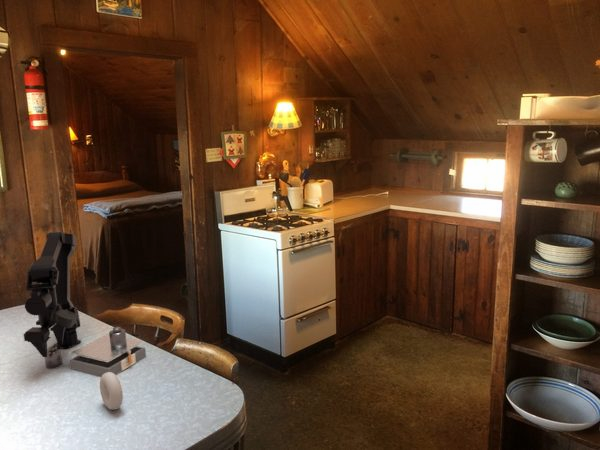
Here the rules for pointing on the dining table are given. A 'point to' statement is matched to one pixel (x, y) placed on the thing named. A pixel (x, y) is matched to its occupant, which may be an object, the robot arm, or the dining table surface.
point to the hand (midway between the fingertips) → (52, 350)
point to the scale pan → (105, 349)
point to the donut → (111, 390)
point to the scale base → (82, 365)
